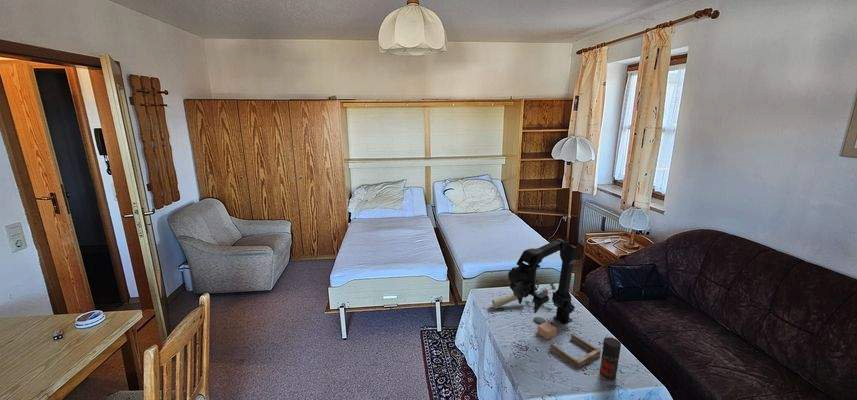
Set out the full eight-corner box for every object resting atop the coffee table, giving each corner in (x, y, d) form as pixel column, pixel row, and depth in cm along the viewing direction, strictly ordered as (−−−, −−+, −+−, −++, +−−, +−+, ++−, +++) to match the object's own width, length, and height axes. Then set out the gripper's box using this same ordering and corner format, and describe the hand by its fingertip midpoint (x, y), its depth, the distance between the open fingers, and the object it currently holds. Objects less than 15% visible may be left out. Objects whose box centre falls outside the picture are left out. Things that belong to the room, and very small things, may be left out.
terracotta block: (545, 329, 172) (546, 321, 171) (555, 335, 167) (556, 328, 166) (537, 333, 169) (537, 325, 168) (547, 339, 164) (548, 332, 163)
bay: (572, 338, 165) (572, 333, 164) (600, 355, 153) (600, 350, 153) (550, 349, 157) (550, 344, 157) (577, 368, 146) (578, 363, 145)
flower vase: (494, 316, 195) (550, 295, 202) (503, 323, 183) (562, 300, 190) (488, 296, 195) (544, 275, 202) (496, 301, 183) (556, 279, 190)
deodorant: (596, 369, 145) (600, 337, 141) (610, 369, 145) (615, 336, 142) (604, 380, 139) (609, 347, 136) (619, 379, 140) (624, 346, 136)
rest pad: (539, 316, 182) (539, 315, 182) (548, 322, 177) (548, 321, 177) (530, 319, 179) (530, 319, 179) (540, 325, 174) (540, 325, 174)
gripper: (501, 274, 165) (500, 304, 169) (533, 291, 149) (531, 323, 153) (519, 268, 170) (517, 297, 174) (550, 284, 155) (548, 315, 159)
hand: (527, 308), depth 165 cm, fingers open, 9 cm apart
